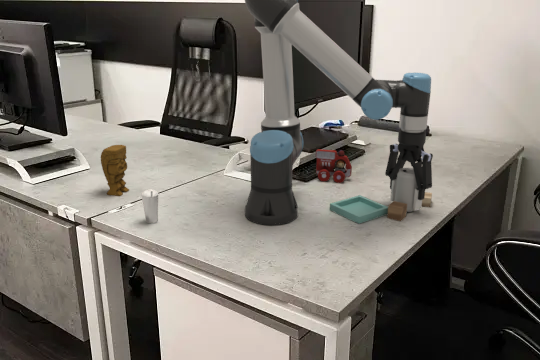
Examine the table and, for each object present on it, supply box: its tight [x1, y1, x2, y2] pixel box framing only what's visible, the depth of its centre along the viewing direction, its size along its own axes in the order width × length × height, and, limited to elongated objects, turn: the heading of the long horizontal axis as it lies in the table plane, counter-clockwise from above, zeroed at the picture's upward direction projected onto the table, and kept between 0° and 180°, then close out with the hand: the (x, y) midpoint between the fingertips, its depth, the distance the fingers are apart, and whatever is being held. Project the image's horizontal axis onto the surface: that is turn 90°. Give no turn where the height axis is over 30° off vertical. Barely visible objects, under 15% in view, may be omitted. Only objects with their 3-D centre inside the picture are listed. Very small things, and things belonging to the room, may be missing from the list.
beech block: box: [421, 191, 433, 208], centre depth 157 cm, size 5×3×3 cm, turn 161°
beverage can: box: [395, 167, 418, 213], centre depth 152 cm, size 6×6×12 cm
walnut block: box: [386, 201, 408, 222], centre depth 148 cm, size 4×4×4 cm
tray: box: [329, 194, 388, 225], centre depth 152 cm, size 12×12×2 cm
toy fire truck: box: [315, 148, 353, 184], centre depth 177 cm, size 7×12×10 cm, turn 76°
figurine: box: [100, 144, 130, 197], centre depth 164 cm, size 7×7×15 cm
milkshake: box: [141, 188, 159, 224], centre depth 143 cm, size 4×5×10 cm
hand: (405, 204), depth 154 cm, fingers open, 8 cm apart
